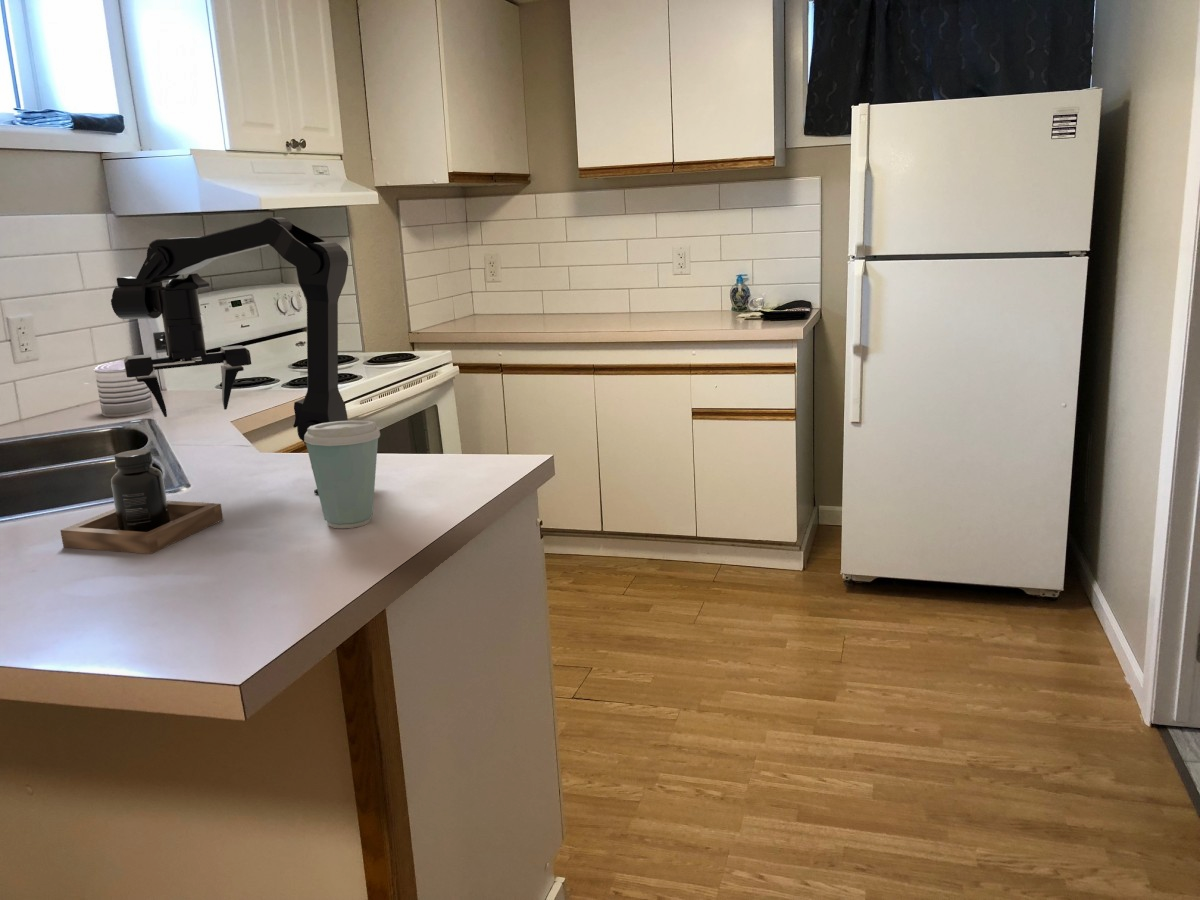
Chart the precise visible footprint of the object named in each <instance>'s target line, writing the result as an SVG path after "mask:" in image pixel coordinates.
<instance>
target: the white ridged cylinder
mask: <svg viewBox="0 0 1200 900" xmlns="http://www.w3.org/2000/svg"><path fill="white" fill-rule="evenodd" d="M92 370H93V371H94V375H95V379H96V380H95V382H96V386H97V391H98V398H99V403H100V410H101V416H102V415H103V416H104V417H106V418H108V417H109V418H111V417H112V418H113V417H115V418H116V417H117V418H119V417H128V416H129V417H130V416H136V415H141V414H146V413H149V412H150V411H153V410H154V406H153V400H152V392H151V391H150V389H149V388H148V387H147V385H146V384H145V382H137V380H136V378H135V377H127V375H126V372H125V365H124V359H122V360H115V361H111V362H107V363H102V364H99V365H96V366H95V367H94V368H92Z"/></svg>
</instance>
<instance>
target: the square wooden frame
mask: <svg viewBox="0 0 1200 900" xmlns="http://www.w3.org/2000/svg"><path fill="white" fill-rule="evenodd" d="M167 505H168V511H169V517H170V522H169V523H166V524H164V525H162V526H160V527H157V528H155V529H153V530H151V531H148V532H138V531H123V530H119V526H118V521H117V515H116V509H115V508H112V509H110V510H108V511H105V512H103V513H100V514H98V515H95V516H93V517H90V518H87V519H85V520H82V521H80V522H78V523H75V524H72V525H69V526H67V527H64V528H63V529H60V530H59V531H60V535H61V541H62V546H63V548H70V549H84V550H85V549H86V550H97V551H99V550H100V551H111V552H123V553H136V554H149V555H150V554H153V553H155V552H158V551H159V550H162V549H164V548H166V547H168V546H170V545H173V544H175V543H177V542H179V541H180V540H181V541H182V540H184V539H185V538H187V537H190V536H191V535H193V534H195V533H198V532H200V531H202V530H204V529H206V528H209V527H210V525H211V526H213V525H215V524H216V522H217V523H219V522H222V521H223V520H224V516H223V510H222V504H221V503H214V502H213V503H211V502H197V501H195V502H194V501H180V500H177V501H176V500H167ZM222 519H223V520H222ZM218 521H219V522H218ZM214 523H215V524H214ZM212 524H213V525H212ZM208 526H209V527H208Z"/></svg>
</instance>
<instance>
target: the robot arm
mask: <svg viewBox="0 0 1200 900" xmlns="http://www.w3.org/2000/svg"><path fill="white" fill-rule="evenodd" d="M268 246H271V247H272V248H273V249H274V250H275V251H276V252H277V253H278V254H279V255H280V256H281V257H282V259H284V261H286V262H288V263H290V264H291V265H293V266H294V267H295V271H296V276H297V283H298V284H299V287H300V289H301V291H302V293H303V297H304V298H305V302H306V349H307V350H306V353H307V356H306V357H307V358H306V359H307V360H306V361H307V365H306V366H307V367H306V368H307V369H306V370H307V374H306V375H307V377H306V378H307V391H306V393H305V396H304V398H302V399H299V400H296V401H294V402H293V403H294V404H293V411H294V416H295V417H294V422H293V423H294V424H293V426H292V427H293V428H294V429H295V428H296V432H297V436H298V438H299V440H301V441H302V442H303V443H304V444H305V445H306V442H304V435H305V433H306V432H307V429H308V428H309V427H310V426H313V425H317V424H321V423H328V422H335V421H349V418H348V414H347V413H348V412H347V407H346V403H345V401H344V399H343V397H342V395H341V392H340V390H339V378H338V377H339V350H338V349H339V345H338V344H339V334H338V333H339V327H338V326H339V323H338V322H339V321H338V320H339V313H338V312H339V311H338V309H339V305H338V304H339V299H340V296H341V293H342V291H343V288H344V286H345V283H346V279H347V272H348V267H349V256H348V253H347V251H346V250H345V249H344V248H343V247H342V245H340V244H338V243H337V242H335V241H326V240H324V239H323V238H322V237H320V236H319V235H317V234H314V233H312V232H310V231H308V230H306V229H304V228H302V227H300V226H298V225H297V224H295V223H293V222H292V221H290V220H288V219H287V218H285V217H280V216H279V217H278V216H277V217H266V218H263V220H260V221H258V222H254V223H249V224H244V225H242V226H237V227H233V228H230V229H225V230H222V231H218V232H215V233H214V232H213V233H211V234H207V235H202V236H193V237H192V236H190V237H173V238H171V237H170V238H158V239H154V240H153V241H151V242H150V243H148V248H147V250H146V257H145V260H144V262H143V264H142V266H141V268H140V270H139V272H138V274H137V276H136V277H134V276H120V277H116V283H117V285H116V286H115V287H114V289H113V291H112V294H111V299H110V305H111V307H112V310H113V312H114V314H115V316H117V318H119V319H121V320H142V319H143V320H144V319H147V320H148V319H149V320H151V319H158V318H160V317H161V316H162V323H163V329H164V331H156V332H154V331H153V332H152V336H153V337H152V338H153V345H154V351H155V353H156V354H163V353H166V356H167V357H166V356H165V357H156V358H152V356H151V354H150V353H148V354H147V353H146V354H138V355H137V354H136V355H127V356H125V358H123V360H124V365H125V372H126V375H127V377H135V378H136V380H137V382H145V384H146V385H147V387H148V388H149V389H150V392H151V395H153V397H154V399H155V401H156V403H157V405H158V407H159V409H160V410H161V413H162V415H163V417H164V418H168V412H167V406H166V404H165V403H166V402H165V399H164V397H163V394H162V390H161V386H160V383H159V380H158V377H157V375H156V374H155V371H156V370H157V371H159V370H166V369H176V368H184V367H185V368H187V367H195V366H204V365H205V366H206V365H214V364H222V365H220V372H221V400H222V407H223V410H225V411H226V410H228V405H229V402H230V397H231V393H232V390H233V387H234V383H235V380H236V377H237V376H238V373H240V372H243V371H245V369H244V367H243V366H249V365H252V357H251V352H250V350H249V349H248V348H246V347H245V346H243V345H231V346H230V345H229V346H221V347H220V351H218V352H208V353H207V350H206V343H205V336H204V335H205V334H204V328H203V320H202V314H201V307H200V301H199V294H198V293H199V292H198V290H200V289H201V290H202V289H206V288H209V287H210V283H209V281H206V279H203V278H202V277H201V276H200V275H199V273H194V272H195V271H198V270H200V269H202V268H204V267H206V266H208V265H209V264H210V263H211V262H213V261H215V260H217V259H221V258H225V257H228V256H232V255H238V254H240V253H244V252H248V251H253V250H256V249H260V248H261V249H262V248H265V247H268ZM186 274H188V275H187V277H186V278H180V277H181V276H182V275H186ZM163 282H167V283H166V285H163ZM179 359H180V361H176V360H179ZM314 494H317V495H319V494H318V490H317V488H316V489H314Z"/></svg>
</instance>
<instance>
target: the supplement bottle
mask: <svg viewBox="0 0 1200 900" xmlns="http://www.w3.org/2000/svg"><path fill="white" fill-rule="evenodd" d="M113 456H114V457H113V458H114V462H115V464H114V466H115V467H114V468H115V469H116V470H117V472H116V473H115V474H113V476H112V477H111V479H110V484H111V485H110V487H111V492H112V498H113V503H114V509H116V515H117V521H118V526H119V528H118V530H123V531H138V532H148V531H151V530H153V529H155V528H157V527H160V526H162V525H164V524H166V523H169V522H171V520H170V517H169V511H168V505H167V501H168V499H167V494H166V488H165V481H164V475H163V473H162V471H161V470H160V469H158V468H156V467H154V466H153V464H154V459H153V455H152V451H151V450H150V449H132V450H127V451H121V452H119V453H116V454H114V455H113Z"/></svg>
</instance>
